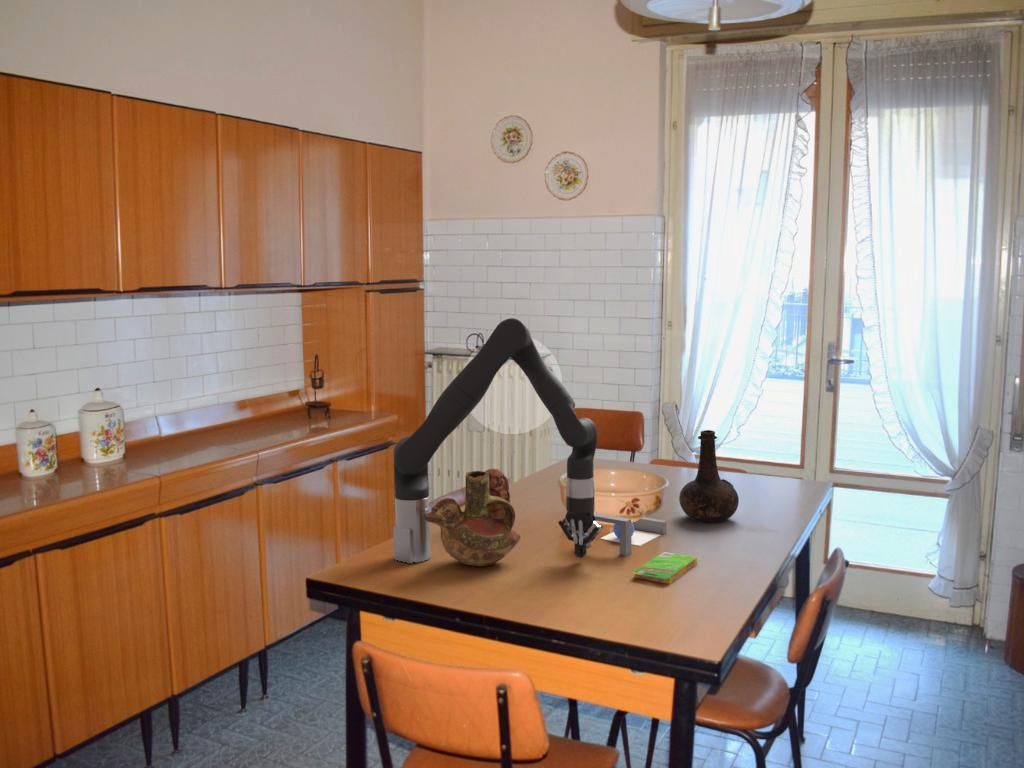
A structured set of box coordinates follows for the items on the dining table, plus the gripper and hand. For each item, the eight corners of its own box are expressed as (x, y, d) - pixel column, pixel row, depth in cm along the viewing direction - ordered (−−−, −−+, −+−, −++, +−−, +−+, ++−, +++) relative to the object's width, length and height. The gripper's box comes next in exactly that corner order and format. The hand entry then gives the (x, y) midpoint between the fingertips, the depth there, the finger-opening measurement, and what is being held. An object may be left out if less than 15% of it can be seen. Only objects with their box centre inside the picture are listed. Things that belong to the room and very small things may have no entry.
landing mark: (640, 546, 262) (640, 545, 262) (600, 538, 269) (600, 538, 269) (660, 535, 272) (661, 534, 272) (622, 528, 280) (622, 527, 280)
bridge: (626, 555, 253) (626, 521, 252) (579, 546, 262) (579, 513, 261) (631, 553, 256) (631, 518, 254) (584, 544, 264) (584, 511, 263)
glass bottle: (749, 523, 284) (751, 433, 280) (699, 530, 277) (700, 438, 274) (716, 509, 300) (717, 424, 297) (668, 515, 293) (669, 428, 290)
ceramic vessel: (420, 559, 253) (418, 469, 250) (512, 550, 259) (510, 462, 256) (431, 579, 236) (429, 483, 233) (529, 569, 243) (528, 475, 240)
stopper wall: (663, 534, 273) (663, 522, 273) (624, 527, 281) (624, 516, 281) (666, 532, 275) (666, 520, 275) (627, 525, 283) (627, 514, 282)
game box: (697, 568, 246) (666, 587, 229) (663, 562, 251) (630, 580, 234) (697, 556, 246) (666, 574, 229) (663, 551, 251) (630, 568, 234)
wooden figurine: (490, 533, 277) (489, 474, 275) (474, 529, 281) (473, 471, 278) (514, 524, 286) (513, 466, 284) (498, 520, 290) (497, 464, 288)
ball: (634, 515, 267) (639, 531, 270) (616, 513, 271) (621, 529, 274) (626, 528, 263) (631, 545, 266) (607, 526, 267) (612, 542, 269)
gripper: (551, 493, 247) (552, 556, 249) (594, 499, 239) (594, 564, 241) (566, 487, 253) (567, 549, 255) (609, 494, 245) (609, 557, 247)
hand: (580, 556), depth 248 cm, fingers closed
